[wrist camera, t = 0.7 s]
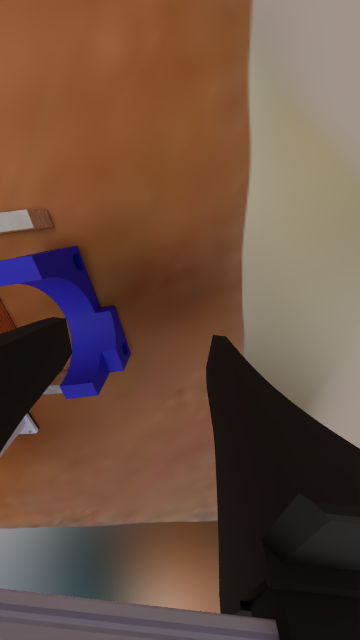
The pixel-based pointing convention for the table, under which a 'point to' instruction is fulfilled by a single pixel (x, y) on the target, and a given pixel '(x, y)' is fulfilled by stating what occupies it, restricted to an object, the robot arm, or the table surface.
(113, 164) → the table surface
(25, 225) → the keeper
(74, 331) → the cable clip
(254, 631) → the robot arm
